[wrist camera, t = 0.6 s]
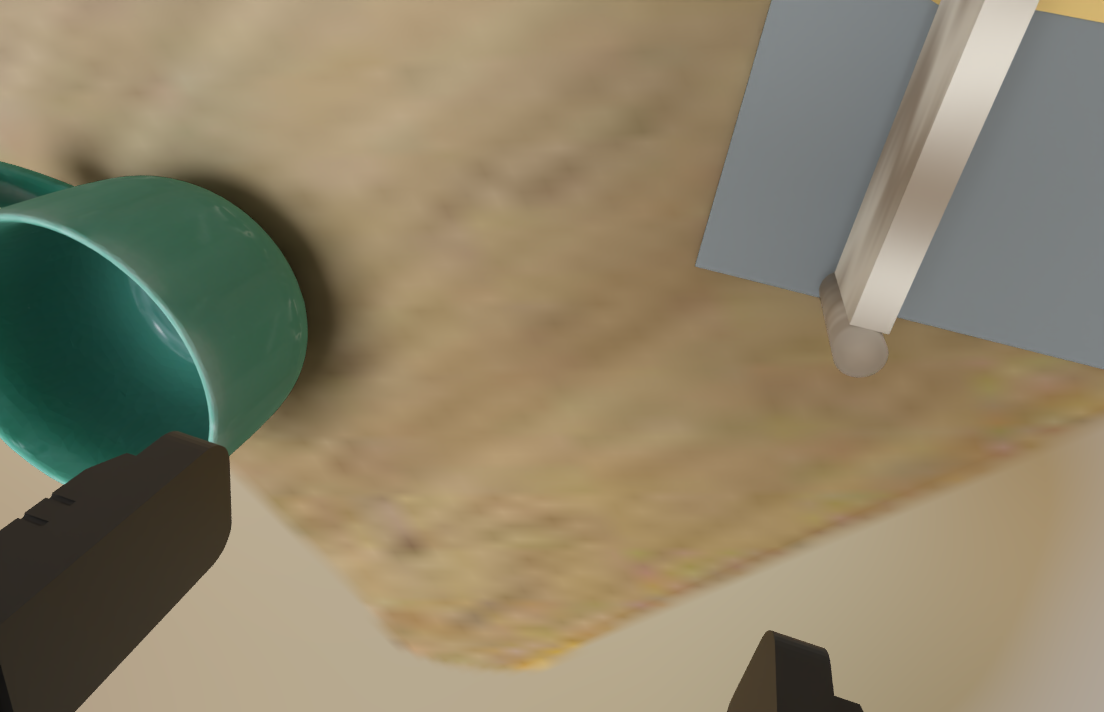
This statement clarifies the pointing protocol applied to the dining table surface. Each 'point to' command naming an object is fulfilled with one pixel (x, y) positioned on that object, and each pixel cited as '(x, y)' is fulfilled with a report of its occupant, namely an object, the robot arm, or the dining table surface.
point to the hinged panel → (918, 173)
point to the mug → (137, 319)
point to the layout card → (980, 194)
